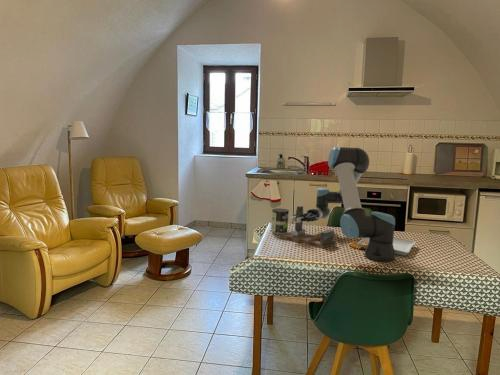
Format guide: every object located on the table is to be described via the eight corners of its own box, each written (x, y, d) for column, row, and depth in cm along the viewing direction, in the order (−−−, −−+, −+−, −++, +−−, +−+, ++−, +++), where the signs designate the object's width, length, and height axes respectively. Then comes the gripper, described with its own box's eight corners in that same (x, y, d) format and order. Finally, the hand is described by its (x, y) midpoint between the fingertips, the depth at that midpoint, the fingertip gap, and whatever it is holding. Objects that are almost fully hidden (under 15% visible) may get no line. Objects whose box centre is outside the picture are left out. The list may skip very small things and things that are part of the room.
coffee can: (290, 232, 247) (292, 210, 245) (281, 235, 239) (282, 212, 237) (277, 228, 254) (278, 207, 251) (267, 231, 246) (269, 209, 243)
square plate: (368, 238, 241) (369, 232, 240) (416, 247, 227) (416, 240, 226) (356, 249, 218) (356, 242, 217) (408, 258, 204) (408, 251, 203)
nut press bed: (335, 243, 226) (336, 229, 225) (323, 248, 215) (324, 234, 214) (293, 234, 243) (294, 221, 242) (281, 238, 232) (282, 224, 231)
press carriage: (305, 233, 235) (306, 206, 233) (297, 236, 228) (299, 207, 226) (299, 232, 237) (301, 205, 235) (291, 235, 230) (293, 206, 228)
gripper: (325, 222, 241) (306, 228, 223) (302, 218, 251) (282, 223, 232) (326, 210, 240) (306, 215, 222) (303, 206, 250) (283, 211, 231)
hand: (294, 220), depth 227 cm, fingers closed on press carriage, 3 cm apart
